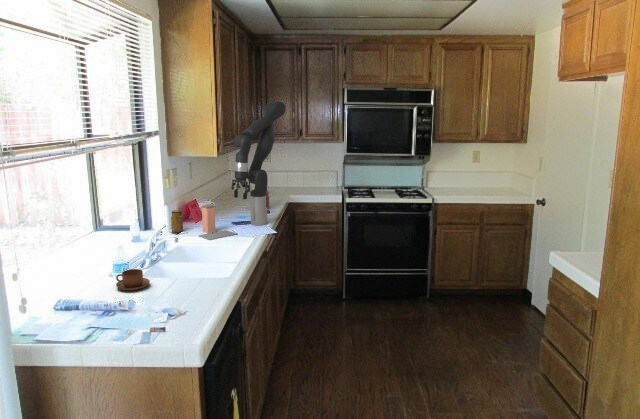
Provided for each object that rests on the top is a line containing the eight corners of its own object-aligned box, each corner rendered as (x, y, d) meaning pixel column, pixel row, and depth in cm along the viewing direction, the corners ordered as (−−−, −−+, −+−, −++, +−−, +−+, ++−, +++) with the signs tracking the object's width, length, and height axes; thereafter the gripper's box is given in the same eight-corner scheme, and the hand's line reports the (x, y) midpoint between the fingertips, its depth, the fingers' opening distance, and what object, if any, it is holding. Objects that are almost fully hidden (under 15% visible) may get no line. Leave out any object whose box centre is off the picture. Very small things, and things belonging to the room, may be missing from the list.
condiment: (179, 230, 274) (178, 209, 272) (188, 232, 269) (187, 211, 266) (168, 232, 269) (167, 211, 267) (176, 234, 264) (175, 213, 261)
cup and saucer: (116, 294, 177) (115, 278, 176) (116, 284, 188) (115, 269, 187) (150, 290, 181) (149, 275, 180) (149, 280, 192) (148, 265, 191)
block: (210, 230, 274) (209, 204, 271) (215, 231, 271) (214, 205, 268) (202, 231, 271) (201, 205, 268) (207, 233, 267) (207, 206, 264)
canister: (247, 209, 334) (247, 184, 331) (255, 206, 347) (255, 182, 343) (265, 211, 331) (264, 185, 327) (272, 207, 343) (272, 182, 339)
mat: (225, 230, 273) (225, 230, 273) (237, 234, 266) (237, 233, 266) (198, 236, 261) (198, 235, 261) (209, 240, 253) (209, 239, 253)
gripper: (254, 171, 275) (253, 199, 277) (239, 169, 284) (238, 196, 287) (243, 171, 269) (242, 200, 272) (228, 169, 279) (227, 197, 281)
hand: (240, 198), depth 279 cm, fingers open, 8 cm apart
